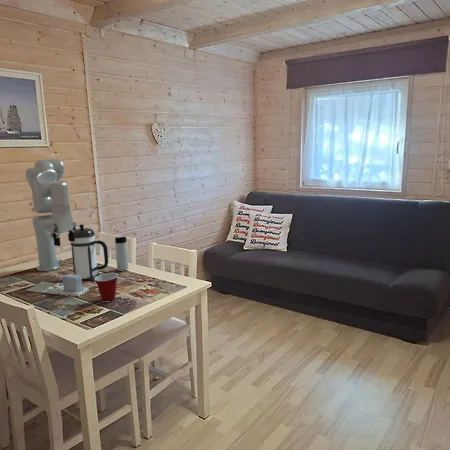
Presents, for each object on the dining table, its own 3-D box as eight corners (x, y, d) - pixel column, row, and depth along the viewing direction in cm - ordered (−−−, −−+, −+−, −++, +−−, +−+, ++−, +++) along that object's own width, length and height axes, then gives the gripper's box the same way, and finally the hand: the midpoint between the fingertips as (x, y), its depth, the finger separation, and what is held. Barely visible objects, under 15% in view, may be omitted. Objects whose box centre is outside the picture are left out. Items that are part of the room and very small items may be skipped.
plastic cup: (100, 295, 192) (98, 271, 190) (122, 295, 192) (121, 271, 189) (92, 304, 182) (90, 279, 179) (116, 304, 181) (114, 279, 179)
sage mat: (43, 282, 211) (42, 281, 211) (62, 284, 208) (62, 283, 208) (25, 290, 200) (25, 289, 200) (45, 293, 197) (45, 292, 197)
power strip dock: (58, 287, 204) (57, 281, 203) (88, 290, 199) (88, 285, 198) (47, 293, 196) (46, 287, 196) (78, 296, 191) (78, 290, 191)
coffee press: (78, 285, 207) (73, 228, 201) (67, 278, 218) (62, 224, 212) (110, 277, 218) (106, 224, 212) (97, 271, 230) (93, 220, 224)
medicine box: (83, 292, 198) (81, 275, 196) (77, 295, 193) (75, 278, 192) (70, 290, 200) (68, 273, 198) (63, 293, 196) (62, 276, 194)
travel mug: (118, 272, 227) (116, 238, 223) (116, 269, 232) (113, 235, 228) (129, 270, 229) (127, 236, 225) (126, 267, 235) (124, 234, 231)
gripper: (67, 205, 199) (70, 239, 202) (41, 210, 183) (45, 247, 186) (80, 206, 196) (83, 239, 199) (54, 211, 180) (58, 248, 183)
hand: (64, 243), depth 193 cm, fingers open, 9 cm apart
